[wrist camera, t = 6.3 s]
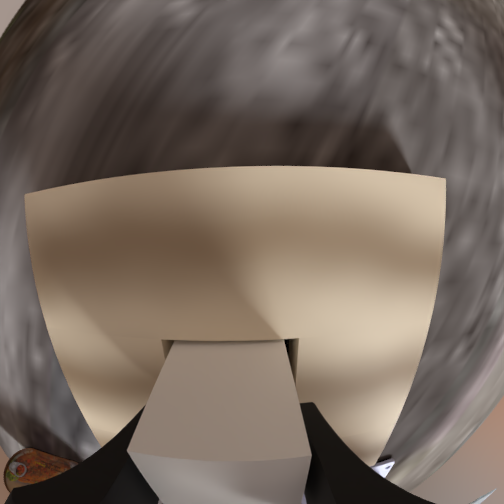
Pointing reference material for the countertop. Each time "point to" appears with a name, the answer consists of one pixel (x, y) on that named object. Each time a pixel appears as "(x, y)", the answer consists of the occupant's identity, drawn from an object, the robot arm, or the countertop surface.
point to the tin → (33, 467)
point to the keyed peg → (224, 426)
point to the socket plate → (243, 282)
